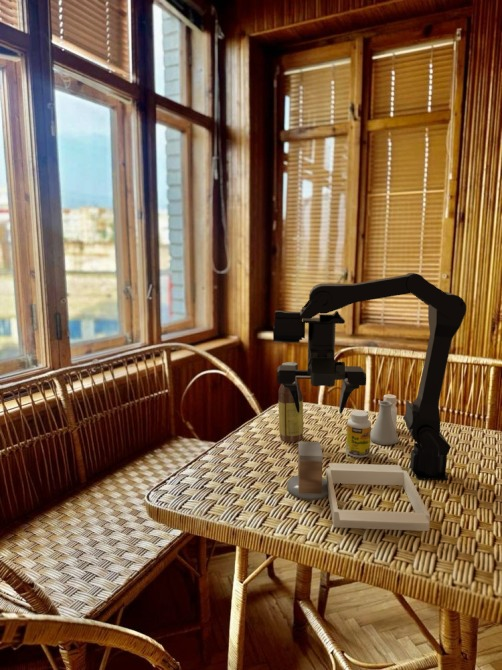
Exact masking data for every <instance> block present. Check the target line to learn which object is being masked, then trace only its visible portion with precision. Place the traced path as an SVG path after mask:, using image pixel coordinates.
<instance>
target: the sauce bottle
mask: <svg viewBox="0 0 502 670" xmlns="http://www.w3.org/2000/svg"><path fill="white" fill-rule="evenodd" d="M281 365H295V370H299V366H298V365H299V364H298V363H296V362H294V361H287V362H283V363H282V364H281ZM296 380H297V389H298V397H299V406H300V410H299V413H298V412H297V409H296V406H295V403H294V399H293V396H292V394H291V392H290V390H289V389H288V388H287V387H283V384H280V386H279V389H278V430H279V431H278V432H279V438H280V440H282V441H284V442H289V443H296V442H301V441H302V439H303V438H304V436H303V435H304V398H303V397H304V396H303V392H302V390H301V387H300V383H299V381H298V380H299V379H296Z"/></svg>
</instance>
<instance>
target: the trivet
mask: <svg viewBox="0 0 502 670" xmlns="http://www.w3.org/2000/svg"><path fill="white" fill-rule="evenodd" d="M286 489H287V492H288V493H289V494H290V495H291V496H293V497H295V498H297V499H300V500H303V501H304V500H305V501H317V500H319V501H320V500H323V499H325V498H327V497H328V487H327V482H326V478H324V477H322V494H315V493H299V487H298V475H295V476H293V477H291V478H289V479H288V481H287V483H286Z"/></svg>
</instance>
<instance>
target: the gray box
mask: <svg viewBox="0 0 502 670" xmlns="http://www.w3.org/2000/svg"><path fill="white" fill-rule="evenodd" d="M322 450H323V449H322V445H321V442H318V441H298V450H297V451H298V453H297V454H298V457H297V459H298V462H297V476H298V487H299V493H315V494H322V478H323V464H324V463H323V459H324V455H323V451H322Z"/></svg>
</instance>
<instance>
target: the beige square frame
mask: <svg viewBox="0 0 502 670" xmlns="http://www.w3.org/2000/svg"><path fill="white" fill-rule="evenodd" d="M328 466H329V467H328V468H325V479H326V482H327V487H328V496H327V497H328V501H329V502H328V503H329V508H330V515H331V521H332V526H333V528H341V529H342V528H343V529H344V528H347V529H369V530H370V529H371V530H392V531H395V530H396V531H418V532H419V531H420V532H423V531H424V532H429V531H430V523H431V522H430V520H431V514H430V513H429V510H428V509H427V506H426V505H425V504H424V501H423V499H422V498H421V496H420V493H419V492H418V490H417V488H416V486H415V484H414V482H413V481H412V479H411V477H410V475H409V473H408V471H407V470H403V469H402V466H401V465H398V464H369V463H368V464H367V463H342V462H341V463H335V462H332V463H331V462H329V463H328ZM340 483H341V484H342V485H346V484H347V485H367V486H370V485H373V486H396V485H399V486H400V487H401V486H402V487H403V490H404V491H405V493H406V496H407V498H408V500H409V502H410V504H411V506H412V509H413V510H414V512H411V511H410V512H409V511H391V510H390V511H386V510H365V509H364V510H363V509H362V510H360V509H359V510H357V509H339V508H338V503H337V497H336V491H335V487H334V484H340ZM341 484H340V485H341Z"/></svg>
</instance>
